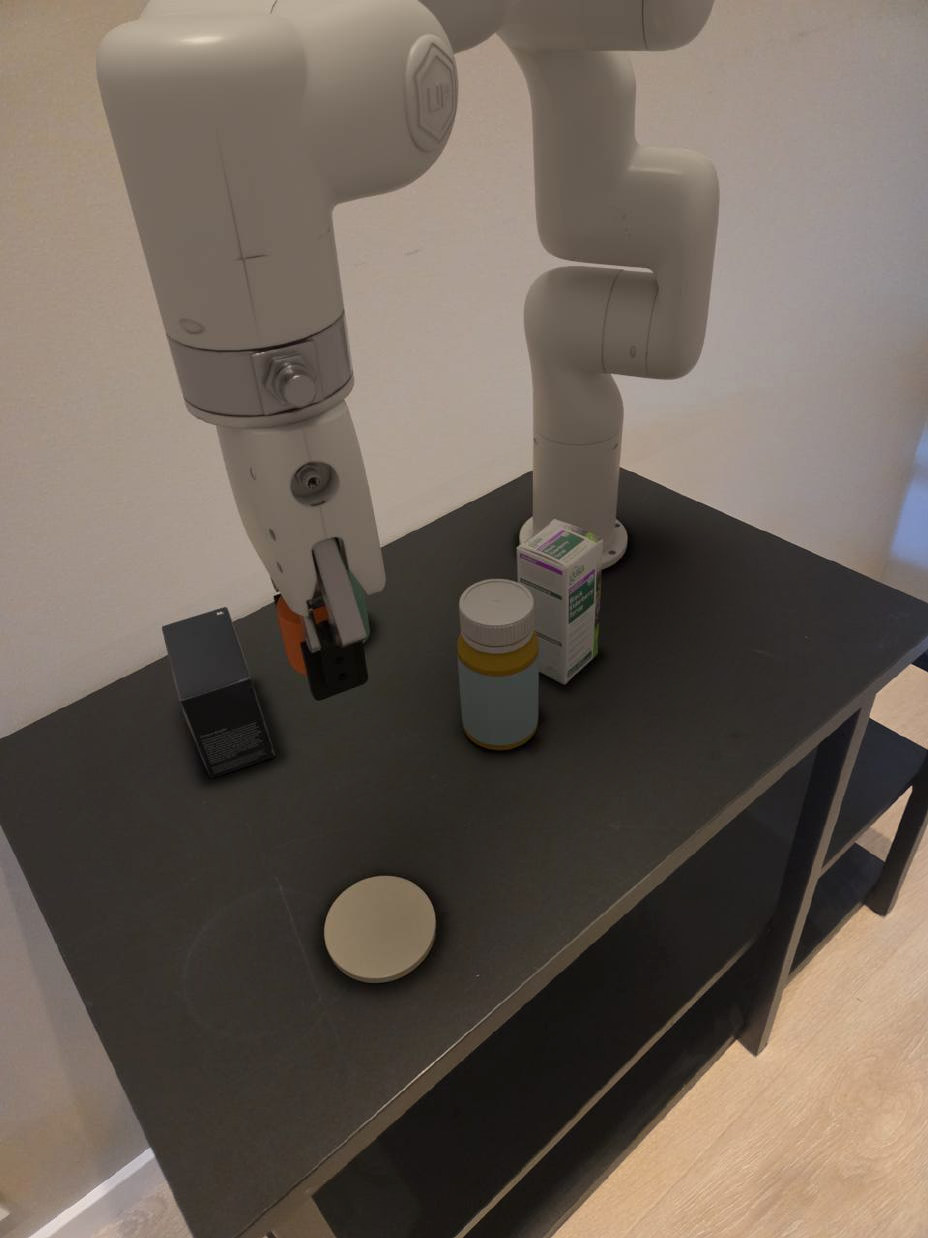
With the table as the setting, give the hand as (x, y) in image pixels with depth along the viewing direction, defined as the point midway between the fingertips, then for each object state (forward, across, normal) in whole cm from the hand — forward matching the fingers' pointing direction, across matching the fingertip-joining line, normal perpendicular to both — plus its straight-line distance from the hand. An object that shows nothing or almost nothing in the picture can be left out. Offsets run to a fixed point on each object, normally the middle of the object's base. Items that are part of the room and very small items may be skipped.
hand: (326, 662), depth 49 cm
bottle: (+27, +12, -18) cm, 34 cm away
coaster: (+27, -1, 0) cm, 27 cm away
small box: (+27, +25, +5) cm, 37 cm away
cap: (-1, 0, 0) cm, 1 cm away
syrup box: (+27, +18, -27) cm, 42 cm away
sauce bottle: (+26, +32, -10) cm, 43 cm away
